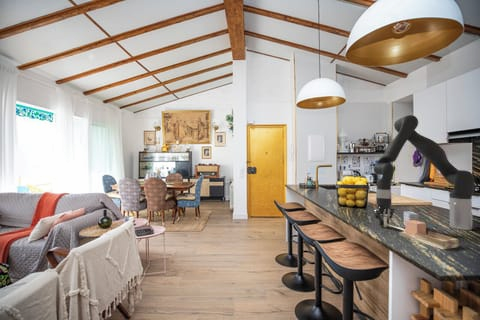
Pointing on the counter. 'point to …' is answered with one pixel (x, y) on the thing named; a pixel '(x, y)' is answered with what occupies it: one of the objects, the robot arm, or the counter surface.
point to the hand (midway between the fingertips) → (384, 225)
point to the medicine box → (410, 216)
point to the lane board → (433, 239)
